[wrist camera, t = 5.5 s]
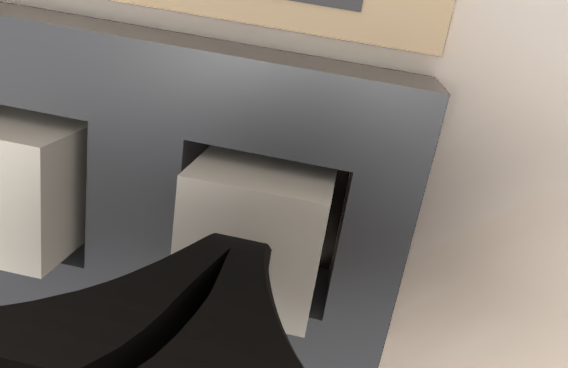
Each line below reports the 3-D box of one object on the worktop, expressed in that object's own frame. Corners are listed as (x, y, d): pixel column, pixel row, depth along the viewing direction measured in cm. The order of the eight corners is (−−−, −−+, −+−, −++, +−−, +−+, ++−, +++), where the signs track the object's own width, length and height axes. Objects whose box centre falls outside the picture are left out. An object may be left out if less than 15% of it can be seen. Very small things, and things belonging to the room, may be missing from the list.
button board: (369, 339, 18) (369, 400, 15) (-205, 212, 20) (-299, 246, 17) (434, 77, 15) (450, 94, 12) (-252, -43, 17) (-376, -51, 14)
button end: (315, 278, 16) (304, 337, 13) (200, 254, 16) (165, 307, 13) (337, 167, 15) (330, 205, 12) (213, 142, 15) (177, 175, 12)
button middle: (96, 232, 17) (41, 279, 14) (-10, 209, 17) (-85, 251, 14) (100, 121, 15) (40, 147, 12) (-15, 99, 16) (-99, 120, 13)
